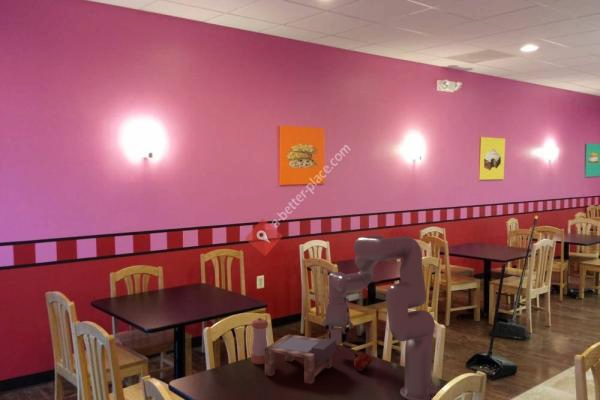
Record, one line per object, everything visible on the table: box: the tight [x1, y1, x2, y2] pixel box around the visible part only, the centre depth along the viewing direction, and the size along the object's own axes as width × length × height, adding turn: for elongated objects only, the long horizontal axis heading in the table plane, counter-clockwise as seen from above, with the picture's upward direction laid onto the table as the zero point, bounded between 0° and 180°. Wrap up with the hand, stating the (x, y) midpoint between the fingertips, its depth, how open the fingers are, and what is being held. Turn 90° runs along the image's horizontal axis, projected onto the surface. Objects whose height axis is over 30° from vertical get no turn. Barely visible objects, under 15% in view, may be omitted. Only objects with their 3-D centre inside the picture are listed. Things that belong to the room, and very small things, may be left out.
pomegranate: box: [353, 352, 373, 372], centre depth 222 cm, size 7×7×10 cm
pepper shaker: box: [250, 317, 269, 365], centre depth 231 cm, size 7×7×19 cm
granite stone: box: [330, 326, 344, 345], centre depth 237 cm, size 5×5×6 cm
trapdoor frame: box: [264, 333, 333, 385], centre depth 221 cm, size 21×21×11 cm
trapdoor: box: [276, 337, 337, 362], centre depth 219 cm, size 21×14×5 cm
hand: (337, 340), depth 237 cm, fingers closed on granite stone, 5 cm apart
